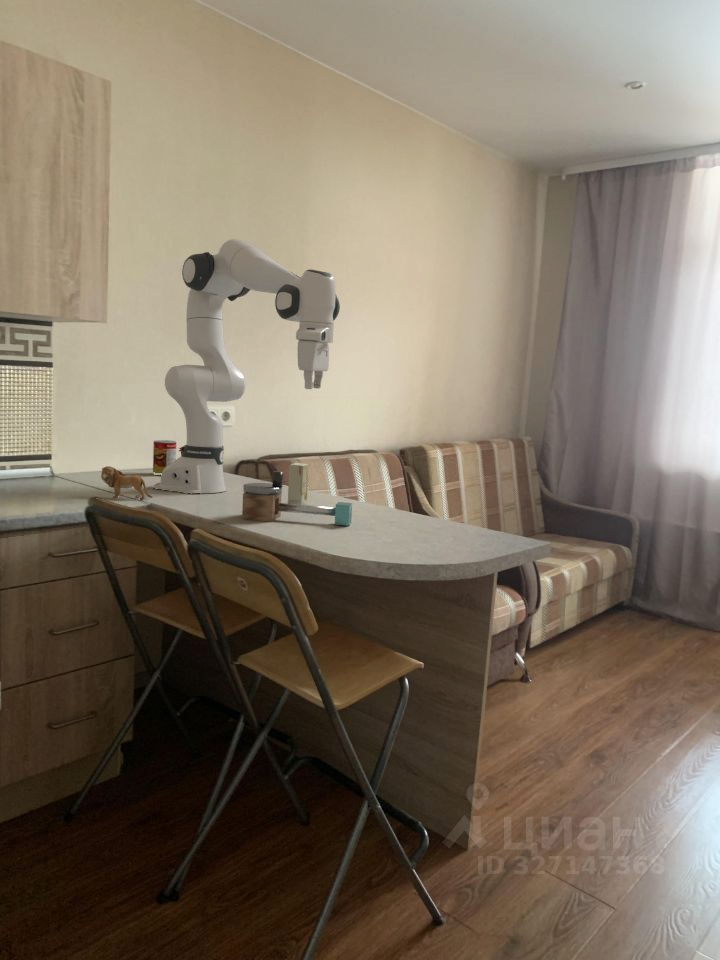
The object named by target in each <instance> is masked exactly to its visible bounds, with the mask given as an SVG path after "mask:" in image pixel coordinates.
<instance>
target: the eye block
mask: <svg viewBox="0 0 720 960" xmlns="http://www.w3.org/2000/svg"><path fill="white" fill-rule="evenodd" d="M279 503H282V493H280V494H275V495H257V494H249V493H245V492H243V493H242V511H241V513H242V515H241V518H242V519H241V520H247V519H248V520H250V521H258V522H259V521H261V522H270V521H272V522H274V521H276V520H277V519H279V518H280V517H281V514H282V512H281V511H279ZM278 517H279V518H278Z"/></svg>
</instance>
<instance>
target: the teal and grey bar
mask: <svg viewBox="0 0 720 960" xmlns="http://www.w3.org/2000/svg"><path fill="white" fill-rule="evenodd" d="M279 511H281V513H282V512H284V513H293V514H294V513H297V514H305V515H307V514H308V515H319V516H329V517H331V516H332V517H334V525H338V526H350V525H351V523H352V517H353V515H352V514H353V503H352V502H343V501H342V502H341V501H338V502H337V503H336V504H335V506H334V507H333V506H331V507H330V506H322V505H321V506H320V505H310V504H309V505H308V504H307V505H298V504H288V502H287V503H283V502H281V503H279Z"/></svg>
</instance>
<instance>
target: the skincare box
mask: <svg viewBox="0 0 720 960" xmlns="http://www.w3.org/2000/svg"><path fill="white" fill-rule="evenodd" d="M309 466H310V465H309V463H300V462H295V463H292V464H289V465H288V468H289V469H288V489H287V504H298V505H308V486H309Z"/></svg>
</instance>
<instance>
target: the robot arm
mask: <svg viewBox="0 0 720 960" xmlns="http://www.w3.org/2000/svg"><path fill="white" fill-rule="evenodd" d="M181 270H182V271H181V274H182V280H183V283H184V284H185V286H186V287H187V288H189V290H188V291H189V292H188V297H187V302H186V303H187V304H186V318H185V319H186V343H187V345H188V347H189V350H191V351H192V352H194V353H195V354H197V355H198V356H199V357H200V358H201V359H202V361H203V364H204V365H199V364H198V365H197V364H182V365H181V364H180V365H175V366H174V365H173V366H171V367H170V368H169V369H168V370H167V373H166V375H165V378H164V387H165V390H166V393H167V394H168V396H170V397H171V398H172V399H174V401H175V402H176V403H177V404H178V405H179V407H180V408H181V410H182V413H183V416H184V419H185V426H186V427H185V428H186V444H185V445H183V446H180V447H178V449H179V450H178V452H180V456H179V457H178V458H176V460H175V461H174V462H172V463H171V464H170V465H168V466H167V467H166V468H165V469H164V470H163V472H162V476H160V482H157V483H155V484H154V485H153V488H157V489H163V490H162V491H164V490H170V491H169V492H172V491H178V492H177V493H180V492H185V493H184V494H188V493H200V494H214V493H222V492H226V491H227V487H226V483H225V478H224V467H223V464H224V460H225V452H224V449H225V447H224V446H223V443H224V442H223V439H224V423H223V421H222V420H221V418H220V417H219V416H217V415H216V414H215V413H213V412H211V411H210V410H209V407H208V402H215V403H216V402H221V403H224V402H225V403H226V402H232V401H235V400H236V401H238V400H239V399H241V398H242V397H243V395H244V394H245V391H246V386H247V385H246V384H247V383H246V378H245V376H244V374H243V373H242V372H241V370H239V369H238V368H237V367H236V366H235V365H234V364H233V362H232V360H231V359H230V357H229V356H228V352H227V349H226V346H225V339H224V321H223V320H224V317H223V304H224V302H225V300H226V299H228V300H229V301H230V302H233V301H235V300H236V299H238V298H241V297H244V296H246V295H247V294H248V293H249V292H250V291H255V292H261V293H268V294H269V293H270V294H276V295H275V299H274V306H275V310H276V313H277V315H278V316H279V317H280V318H281V319H283V320H286V321H290V322H297V323H299V326H298V329H297V330H296V333H295V339H296V340H297V367H298V370H299V371H303V379H304V389H305V390H312V389H321V387H322V380H323V377H324V372H327V371H328V370H329V366H330V365H329V364H330V363H329V361H330V347H329V346H330V345H329V344H331V343H333V341H334V326H335V322H334V321H335V320H336V319H337V317H338V316H339V314H340V308H341V307H340V300H339V297H338V295H337V294H336V282H335V278H334V276H333V275H332V274H331V273H330V272H326V271H321V270H317V269H316V270H315V269H312V268H311V269H306V270H304V272H303V274H302V275H301V276H298V275H297V274H296V273H294V272H292V271H290V270H288V269H287V268H286V267H284V266H283V265H281V264H279V263H278V262H277V261H275V260H274V259H273V258H271V257H270V256H268V255H267V254H265V253H264V252H263V251H261V250H260V249H258V248H257V247H256V246H254V245H252V244H250V243H249V242H246V241H244V240H241V239H236V238H234V239H228V240H226V241H225V242H224V243H223V244H222V245H221V247H220V249H219V251H218V253H216V254H211V253H210V252H209V251H205V252H202V253H195V254H191V255H189V256H188V257H187V258H186V259H185V260H184V262H183V265H182V269H181ZM313 376H314V377H313ZM313 378H314V379H313Z"/></svg>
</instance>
